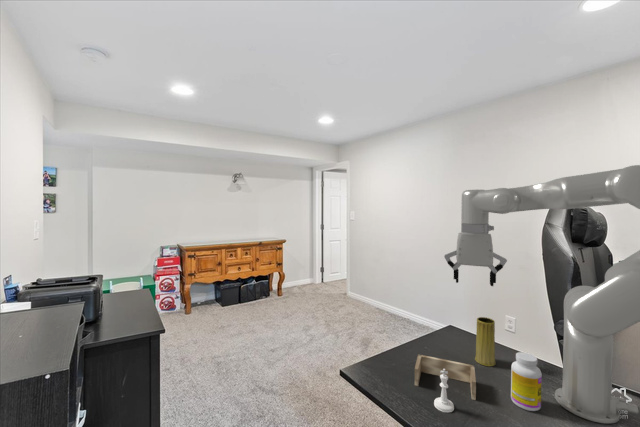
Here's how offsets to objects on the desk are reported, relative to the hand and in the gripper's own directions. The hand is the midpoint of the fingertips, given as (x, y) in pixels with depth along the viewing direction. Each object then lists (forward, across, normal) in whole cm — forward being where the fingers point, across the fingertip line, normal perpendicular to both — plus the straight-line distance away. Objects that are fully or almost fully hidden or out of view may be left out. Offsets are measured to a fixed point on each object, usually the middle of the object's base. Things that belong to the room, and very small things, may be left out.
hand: (474, 283), depth 93 cm
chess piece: (+28, +8, +21) cm, 36 cm away
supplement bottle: (+28, -12, +11) cm, 33 cm away
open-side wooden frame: (+28, +8, +11) cm, 31 cm away
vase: (+28, -4, -8) cm, 30 cm away
